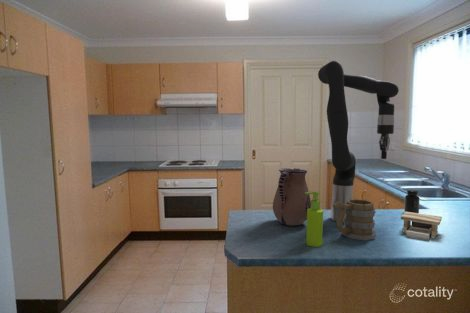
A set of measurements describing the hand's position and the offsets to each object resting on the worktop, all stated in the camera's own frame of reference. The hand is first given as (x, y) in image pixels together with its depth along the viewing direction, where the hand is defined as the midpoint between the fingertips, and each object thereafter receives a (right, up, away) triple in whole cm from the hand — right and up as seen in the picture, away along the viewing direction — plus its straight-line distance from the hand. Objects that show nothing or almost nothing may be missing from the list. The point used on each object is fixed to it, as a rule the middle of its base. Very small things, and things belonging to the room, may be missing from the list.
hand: (383, 158), depth 165 cm
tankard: (-27, -32, -31) cm, 52 cm away
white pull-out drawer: (+3, -31, -27) cm, 41 cm away
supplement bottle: (+18, -29, +8) cm, 35 cm away
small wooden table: (+5, -31, -24) cm, 40 cm away
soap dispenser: (-45, -32, -41) cm, 69 cm away
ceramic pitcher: (-50, -30, -15) cm, 60 cm away
